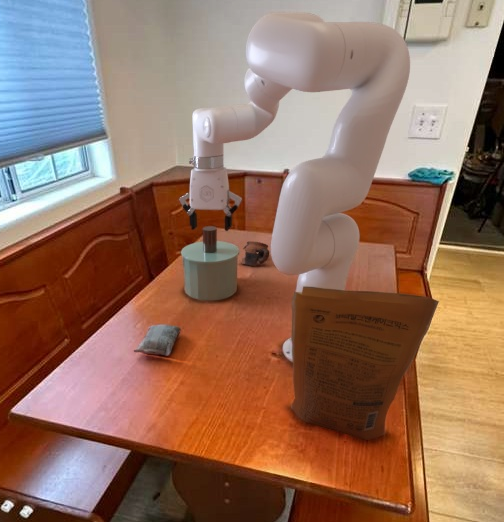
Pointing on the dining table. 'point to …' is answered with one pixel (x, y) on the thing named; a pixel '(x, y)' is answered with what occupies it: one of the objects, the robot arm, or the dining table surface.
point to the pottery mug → (255, 253)
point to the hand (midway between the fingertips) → (210, 228)
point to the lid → (210, 249)
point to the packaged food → (159, 340)
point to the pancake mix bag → (353, 355)
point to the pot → (210, 279)
